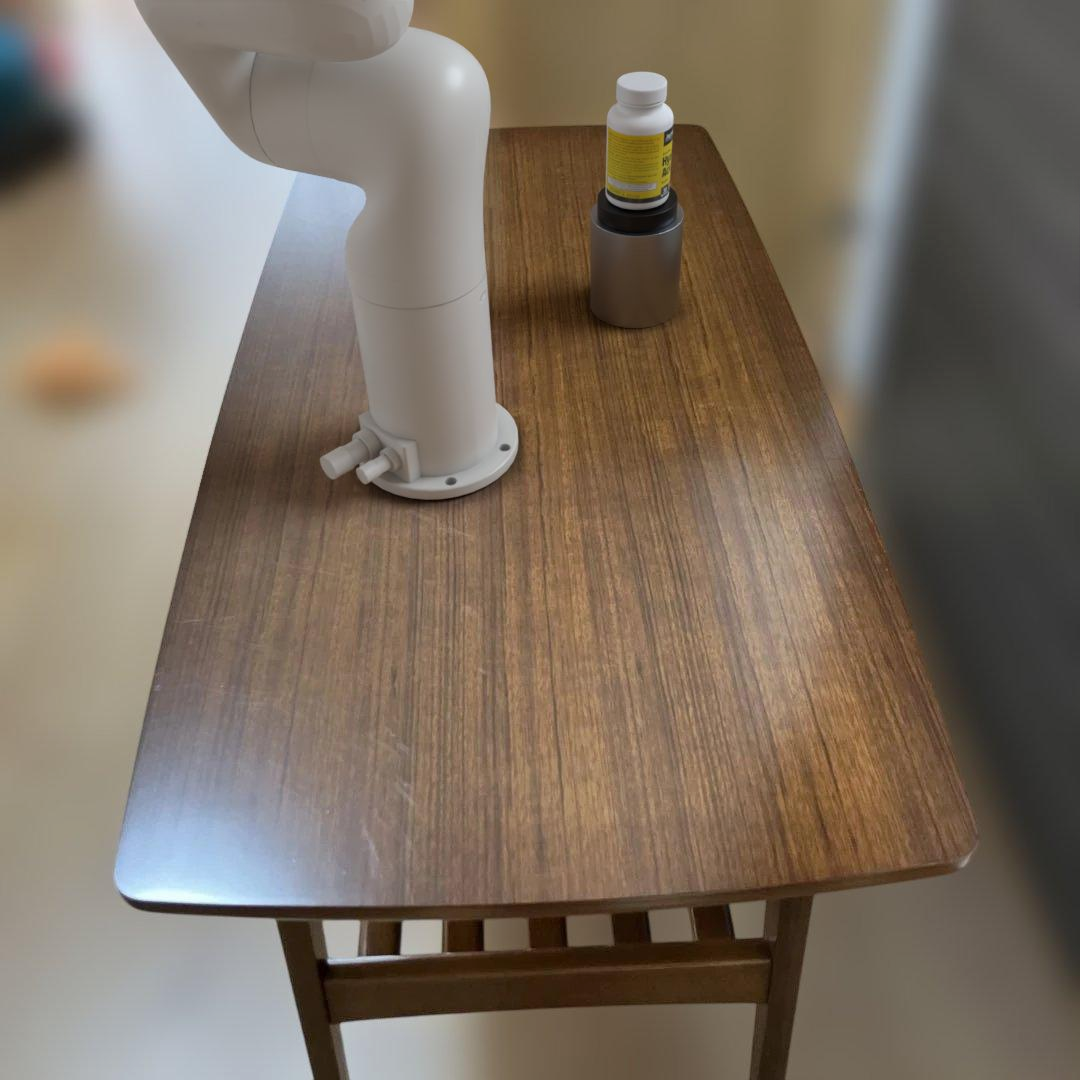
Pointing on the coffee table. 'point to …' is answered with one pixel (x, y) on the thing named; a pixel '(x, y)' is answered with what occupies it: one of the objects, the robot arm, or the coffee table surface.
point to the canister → (635, 262)
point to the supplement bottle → (639, 142)
